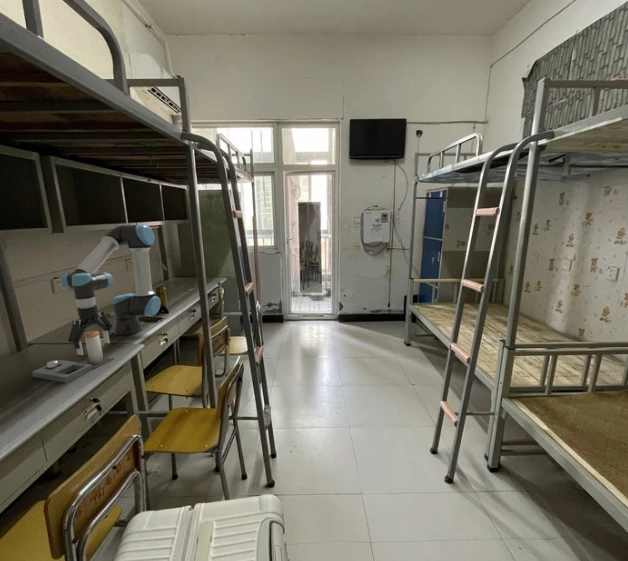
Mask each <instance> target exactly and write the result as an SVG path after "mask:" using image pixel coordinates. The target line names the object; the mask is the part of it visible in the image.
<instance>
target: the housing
mask: <svg viewBox="0 0 628 561" xmlns="http://www.w3.org/2000/svg"><path fill="white" fill-rule="evenodd" d="M84 363H85V362H78V361H77V362H76V361H70V360H64V359H59V360H58V364H59V367H56V368H54V369H52V370H50V369H48V368H47V365H45V366H43V367H39V368H38V369H36V370H33V371H32V377H33V378H38V379H43V380H49V381H55V382H60V383H64V384H65V383H66V384H67V383H69V382H71V381H73V380H75V379H77V378H78V377H81V376H83V375H85V374H87V373H90V372H91V371H93V370H94V368H92V365H91V364H84ZM72 371H73V372H72ZM70 372H71V373H70ZM68 373H69V374H68Z"/></svg>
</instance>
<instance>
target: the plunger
mask: <svg viewBox="0 0 628 561" xmlns="http://www.w3.org/2000/svg"><path fill="white" fill-rule="evenodd" d="M58 361H59V360H58V359H54V360H50V361H48V362H46V366H47V368H48V369H50V370H52V369H54V368H56V367H59V364H58Z"/></svg>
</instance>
